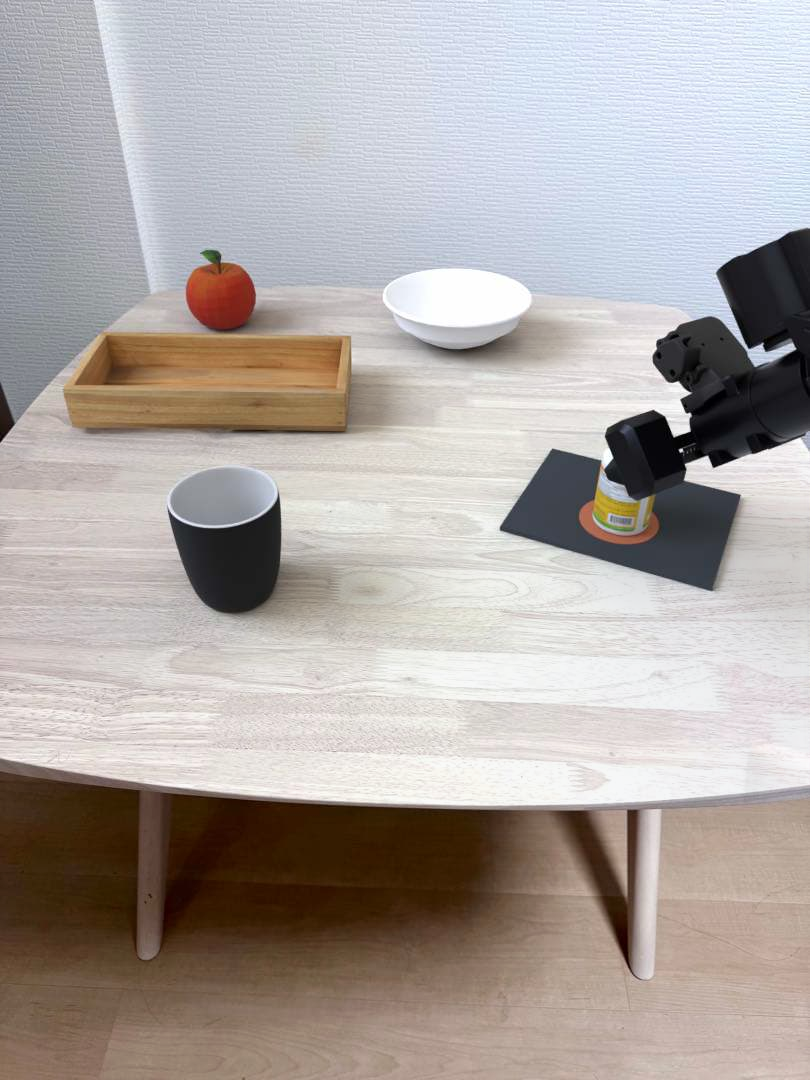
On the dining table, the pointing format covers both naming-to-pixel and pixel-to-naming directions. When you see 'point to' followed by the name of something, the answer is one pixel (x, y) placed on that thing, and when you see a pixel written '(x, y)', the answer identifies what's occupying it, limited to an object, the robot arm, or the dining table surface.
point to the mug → (228, 535)
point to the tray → (212, 382)
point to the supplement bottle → (619, 506)
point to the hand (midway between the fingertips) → (646, 460)
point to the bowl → (457, 306)
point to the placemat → (661, 549)
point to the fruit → (220, 293)
